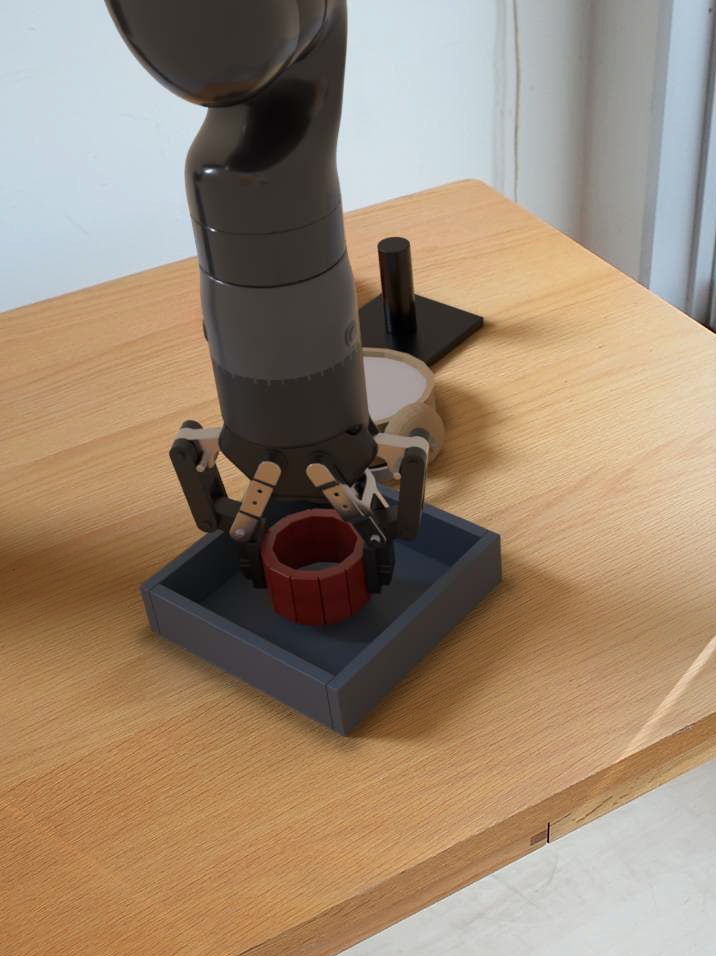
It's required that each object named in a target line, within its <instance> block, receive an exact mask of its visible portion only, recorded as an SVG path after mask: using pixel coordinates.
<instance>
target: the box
mask: <svg viewBox="0 0 716 956" xmlns="http://www.w3.org/2000/svg"><path fill="white" fill-rule="evenodd" d="M376 487H377V489H378V491H379V492H380V494H381V495H382V497H383V498H384V499H385V501H386V502H387V504H388V505H389V507H390V506H394V505H398V502H399V491H400V490H397V489H395V488H392V487H391V486H388V485H387V484H386V485H385V484H383V483H382V482H381V483H379V482H376ZM308 509H311V511H312V509H334V507H333V506H332V504H321V503H314V502H310V501H306V500H299V501H293V502H275V498H274V497H272V496H270V498H269V500H268V503H267V505H266V507H265V509H264V511H263V514H262V516H261V518H266V520H267V526H268V530H269V529H270V528H271V527H272V526H274V525H275V524H276V523H277V522H279V521H280V520H281V519H282V518H284V517H285V518H286V516H288V515H292V514H295V513H298V512H302V511H305V510H308ZM393 542H394V553H395V567H394V571H393V576H392V580H391V582H390V584H389V585H383V586H382V591H381V594H372V596H371V599H370V600H369V603H368V604H366V605H365V606H364V607H363V608H362V609H361V610H360V611H359V612H358V613H356V614H355V615H354V616H351V618H348V619H345V620H342V621H339V622H336V623H333V624H330V625H326V624H325V625H324V626H313V625H299V624H298V623H297V624H295V623H293V622H291V621H289V620H288V619H286V618H284V617H282V616H280V615H278V614H277V613H276V612H275V610H274V608H273V606H272V604H271V602H270V600H269V598H268V594H267V589H255V588H254V587H253V582H252V580H251V579H245V577H244V576H243V574H242V573H241V568H240V563H239V558H238V553H237V548H236V542H235V540H233V539H232V538H231V536H230V534H229V533H227V532H225V531H222V530H218V529H217V530H216V531H215V532H212V533H205V534H204V535H203V536H201V537H200V538H199V539H198V540H196V541H195V542H193V543H192V544H191V545H190V546H189V547H187V548H186V549H185V550H183V551H182V552H180V553H179V555H177V556H176V557H174V558H173V559H172V560H171V561H169V562H168V563H166V564H165V565H163V566H162V567H161V568H160V569H159V570H158V571H156V572H155V573H154V574H153V575H151V576H150V577H149V578H147V579H146V580H145V581H143V582H142V583H141V584H139V591H140V594H141V598H142V601H143V606H144V609H145V612H146V616H147V619H148V623H149V627H150V630H151V632H153V633H154V634H156V635H158V636H160V637H161V638H164V639H165V640H167V641H169V642H171V643H173V644H175V645H176V646H178V647H180V648H181V649H184V650H185V651H187V652H189V653H190V654H193V655H194V656H196V657H198V658H200V659H201V660H203V661H206V662H207V663H209V664H210V665H213V666H214V667H216V668H218V669H220V670H222V671H224V673H227V674H229V675H231V676H233V677H234V678H236V679H238V680H240V681H242V682H243V683H245V684H247V685H249V686H250V687H252V688H255V689H256V690H258V691H260V692H262V693H263V694H265V695H267V696H269V697H270V698H273V699H274V700H276V701H278V702H280V703H281V704H283V705H285V706H287V707H289V708H290V709H292V710H294V711H296V712H298V713H300V714H301V715H303V716H305V717H307V718H309V719H311V720H312V721H314V722H316V723H318V724H320V725H322V726H324V727H325V728H327V729H329V730H331V731H332V732H334V733H335V734H338V735H340V737H343V738H346V737H348V735H349V734H350V733H352V731H353V730H354V729H355V728H356V727H357V726H358V725H359V724H360V723H361V722H363V720H364V719H365V718H367V716H368V715H369V714H370V713H371V712H372V711H373V710H375V708H376V707H378V705H379V704H380V703H381V702H382V701H383V700H384V699H385V698H386V697H387V696H388V695H389V694H390V693H391V692H392V691H394V689H396V687H397V686H398V685H399V684H400V683H401V682H402V681H403V680H404V679H405V678H406V677H407V676H408V675H409V674H410V673H411V672H412V671H413V670H414V669H415V668H416V667H417V666H418V665H419V664H420V663H421V662H422V661H423V660H424V659H425V658H426V657H427V656H428V655H429V654H430V653H431V652H432V651H433V650H434V649H435V648H436V647H437V646H439V644H440V643H442V641H443V640H444V639H445V638H446V637H448V635H449V634H450V633H451V632H452V631H453V630H454V629H455V628H456V627H458V625H459V624H460V623H461V622H462V621H463V620H464V619H465V618H466V617H468V615H470V613H471V612H472V611H473V610H474V609H475V608H476V607H477V606H478V605H479V604H480V603H481V602H482V601H483V600H484V599H485V598H486V597H487V596H488V595H489V594H490V593H491V592H492V591H493V590H494V589H495V588H496V587H497V586H498V585H499V584H500V583H501V582H502V581H503V571H502V570H503V565H502V542H501V534H500V533H497V532H495V531H492V530H490V529H488V528H485V527H484V526H481V525H478V524H477V523H474V522H472V521H470V520H468V519H465V518H463V517H460V516H458V515H456V514H453V513H451V512H448V511H446V510H443V509H442V508H439V507H437V506H434V505H432V504H429V503H427V502H426V501H424V507H423V511H422V517H421V521H420V526H419V531H418V535H417V537H416V538H415V539H414V540H412V541H404V540H402V539H400V538H397V539H394V540H393ZM339 564H340V563H325V562H317V563H314V564H311V565H308V566H305V567H301V568H298V569H297V570H304V571H320V570H323V569H326V568H329V567H333V566H336V565H339Z"/></svg>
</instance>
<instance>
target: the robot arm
mask: <svg viewBox="0 0 716 956" xmlns="http://www.w3.org/2000/svg"><path fill="white" fill-rule="evenodd" d="M103 2H104V4H105V7H106V10H107V12H108V14H109V17H110V18H111V21H112V22H113V25H114V27H115V29H116V31H117V33H118V34H119V36H120V38H121V39H122V41H123V43H124V44H125V46H126V47H127V49H128V51H129V53H131V54H132V56H133V58H135V61H137V62H138V64H139V65H140V66H141V67H142V68H143V69H144V70H145V71H146V72H147V73H148V75H150V77H152V78H153V80H155V81H156V82H157V83H158V84H159V85H160V86H162V87H163V88H165V90H167V91H169V93H171V94H173V95H174V96H176V97H178V98H180V99H181V100H183V101H185V102H188V103H190V104H192V105H195V106H198V107H202V108H206V109H207V110H206V115H205V117H204V120H203V121H202V124H201V126H200V128H199V130H198V131H197V133H196V135H195V136H194V138H193V140H192V141H191V144H190V145H189V147H188V150H187V153H186V156H185V159H184V160H185V162H184V173H183V174H184V175H183V176H184V177H183V178H184V187H185V188H184V190H185V195H186V196H185V197H186V202H187V206H188V211H189V216H190V223H191V228H192V231H193V238H194V243H195V249H196V254H197V259H198V260H197V262H198V269H199V297H200V305H201V314H202V331H203V337H204V339H205V340H206V342H207V346H208V351H209V355H210V361H211V366H212V372H213V379H214V382H215V387H216V393H217V398H218V404H219V410H220V415H221V419H222V420H223V423H222V426H219V427H205V428H204V427H203V425H202V424H201V423H200V422H198V421H196V420H194V419H188V420H185V421H183V422H182V424H181V426H180V428H179V430H178V431H177V433H176V435H175V438H174V439H173V442H172V445H171V447H170V449H169V451H168V456H169V459H170V462H171V464H172V466H173V469H174V472H175V474H176V477H177V479H178V482H179V485H180V487H181V489H182V492H183V495H184V497H185V499H186V503H187V505H188V508H189V510H190V513H191V515H192V518H193V520H194V523H195V525H196V527H197V529H198V530H199V531H201V532H203V533H205V534H207V533H212V532H215V531H216V530H217V529H218V530H222V531H225V532H227V533H229V534H230V536H231V538H232V539H233V540H235V542H236V548H237V553H238V558H239V563H240V568H241V573H242V574H243V576H244V577H245V579H251V580H252V582H253V587H254V588H255V589H267V588H266V583H265V577H264V572H263V566H262V560H261V555H260V551H261V546H262V543H263V540H264V537H265V535H266V533H267V530H268V526H267V520H266V518H261V516H262V514H263V511H264V509H265V507H266V505H267V503H268V500H269V498H270V496H272V497H274V498H275V502H293V501H299V500H306V501H310V502H314V503H321V504H332V506H333V507H334V509H335V510H336V511H337V513H338V514H339V515H340V517H341V518H342V520H343V521H344V522H345V523H351V524H352V525H353V527H354V528H355V529H356V531H357V532H358V533H359V535H360V536H361V538H362V539H363V540H364V544H363V557H364V566H365V575H366V583H367V592H368V593H370V594H381V591H382V586H383V585H389V584H390V582H391V580H392V576H393V571H394V567H395V553H394V542H393V540H394V539H397V538H400V539H402V540H404V541H412V540H414V539H415V538H416V537H417V535H418V531H419V526H420V521H421V517H422V511H423V507H424V502H425V498H426V489H427V488H426V487H427V478H428V469H429V464H428V461H429V452H430V442H431V435H430V433H429V432H428V431H427V430H425V429H423V428H414V429H412V430H411V431H410V432H409V436H408V437H405V436H398V435H392V434H385V433H380V431H379V428H378V427H377V425H376V424H375V423H374V422H373V420H372V418H371V416H370V414H369V410H368V400H367V390H366V381H365V371H364V361H363V351H362V341H361V331H360V321H359V311H358V309H359V302H358V293H357V286H356V282H355V277H354V272H353V269H352V265H351V261H350V257H349V253H348V245H347V236H346V235H347V234H346V226H345V218H344V217H345V216H344V208H343V197H342V189H341V183H340V176H339V172H338V161H337V160H338V142H339V135H340V127H341V120H342V114H343V106H344V105H343V104H344V93H345V92H344V91H345V77H346V65H347V53H348V52H347V50H348V32H349V29H348V27H349V25H348V24H349V22H348V21H349V18H348V17H349V16H348V14H349V13H348V11H349V10H348V0H103ZM220 452H221V453H222V455H223V456H224V457H225V458H226V459H227V460H228V461H229V462H230V463H231V464H233V465H234V467H236V469H238V470H239V471H240V472H241V473H242V475H244V476H245V477H246V478H247V479H248V480H249V482H248V485H247V487H246V489H245V491H244V493H243V496H242V498H241V500H240V501H239V500H236V499H233V498H230V497H229V496H228V493H227V489H226V487H225V485H224V481H223V479H222V476H221V473H220V470H219V468H218V465H217V460H218V457H219V455H220ZM376 457H380V458H382V459H384V460H385V461H386V463H385V464H386V466H388V470H389V472H390V473H391V474H392V477H393V478H394V479H393V480H395V481H400V482H399V490H398V491H399V502H398V505H394V506H390V507H389V505H388V504H387V502H386V501H385V499H384V498H383V497H382V495H381V494H380V492H379V491H378V489H377V487H376V481H375V478H374V476H373V474H372V473H371V472H370V470H369V469H370V468H369V467H368V466H369V465H370V464H371V463H372V462H373V460H374V459H375V458H376Z"/></svg>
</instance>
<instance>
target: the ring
mask: <svg viewBox="0 0 716 956" xmlns="http://www.w3.org/2000/svg"><path fill="white" fill-rule="evenodd" d="M363 544H364V540H363V539H362V538H361V536H360V535H359V533H358V532H357V531H356V529H355V528H354V527H353V525H352V524H351V523H345V522H344V521H343V520H342V518H341V517H340V515H339V514H338V513H337V511H336V510H335V509H312V511H311V509H308V510H305V511H302V512H298V513H295V514H292V515H288V516H286V518H285V517H284V518H282V519H281V520H280V521H279V522H277V523H276V524H275V525H274V526H272V527H271V528H270V529H269V530H267V533H266V535H265V537H264V540H263V543H262V546H261V551H260V555H261V560H262V566H263V572H264V577H265V583H266V588H267V594H268V598H269V600H270V602H271V604H272V606H273V608H274V610H275V612H276V613H277V614H278V615H280V616H282V617H284V618H286V619H288V620H289V621H291V622H293V623H295V624H297V623H298V624H299V625H313V626H324V625H325V624H326V625H330V624H333V623H336V622H339V621H342V620H345V619H348V618H351V616H354V615H355V614H356V613H358V612H359V611H360V610H361V609H362V608H363V607H364V606H365V605H366V604H368V603H369V600H370V599H371V596H372V594H370V593H368V592H367V583H366V575H365V566H364V557H363ZM317 562H325V563H340V564H339V565H336V566H333V567H329V568H326V569H323V570H320V571H304V570H297V569H298V568H301V567H305V566H308V565H311V564H314V563H317Z"/></svg>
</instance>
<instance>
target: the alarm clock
mask: <svg viewBox="0 0 716 956" xmlns="http://www.w3.org/2000/svg"><path fill="white" fill-rule="evenodd" d="M362 351H363V361H364V371H365V381H366V390H367V400H368V410H369V414H370V416H371V418H372V420H373V422H374V423H375V424H376V425H377V427H378V428H379V431H380V433H385V434H392V435H398V436H405V437H408V436H409V432H410V431H411V430H412V429H414V428H423V429H425V430H427V431H428V432H429V433H430V435H431V442H430V452H429V461H428V465H429V464H431V463H432V462H433V461H434V460H435V459H436V458H437V456H438V455H439V453H440V452H441V449H442V447H443V444H444V441H445V426H444V423H443V420H442V418H441V416H440V415H439V413H438V412H437V411H438V410H437V405H436V395H435V390H436V385H435V378H434V372H433V371H432V370H431V368H428V366H427V365H426V364H425V363H424V362H423V361H421V360H419V359H417V358H415V357H413V356H411V355H409V354H407V353H403V352H398V351H394V350H390V349H381V348H362ZM384 464H387V463H386V461H385V460H384V459H382V458H380V457H376V458H375V459H374V460H373V462H372V463H371V464H370V465H369V466H368V469H369V470H370V472H371V473H372V474H373V476H374V478H375V481H376V482H379V483H381V484H382V483H384V482H388V481H391V480H395V479H394V478H393V477H392V474H391V473H390V472H389V470H388V465H386V466H381V467H377V468H376V467H375V466H380V465H384ZM372 467H375V468H372Z"/></svg>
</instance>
